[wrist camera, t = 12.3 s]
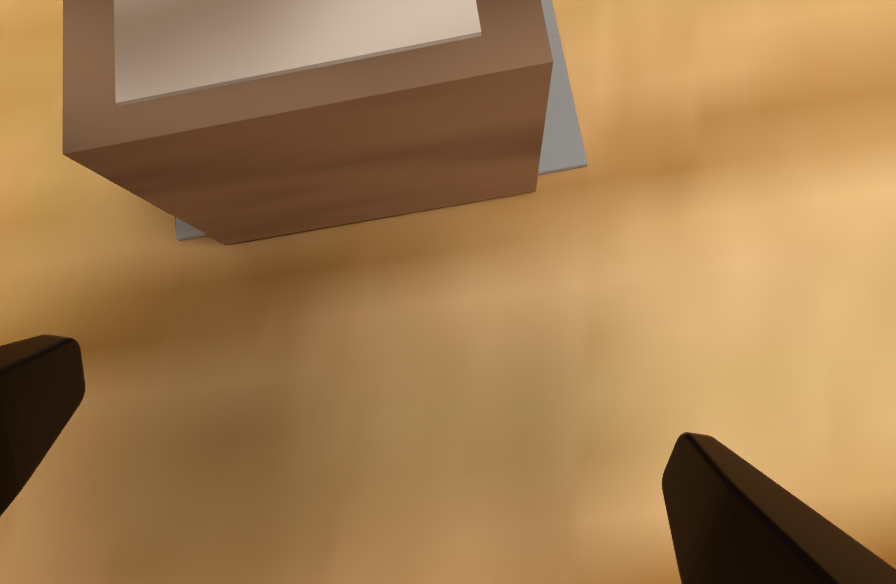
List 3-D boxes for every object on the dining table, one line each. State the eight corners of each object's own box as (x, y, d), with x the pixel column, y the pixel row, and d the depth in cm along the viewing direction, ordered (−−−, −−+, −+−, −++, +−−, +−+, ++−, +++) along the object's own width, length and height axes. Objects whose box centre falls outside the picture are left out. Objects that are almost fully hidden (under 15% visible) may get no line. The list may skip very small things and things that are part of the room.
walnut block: (497, -219, 14) (500, 4, 22) (59, -119, 15) (214, 61, 23) (553, 57, 13) (535, 191, 20) (58, 151, 13) (224, 244, 21)
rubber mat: (586, 166, 21) (587, 164, 20) (179, 240, 22) (176, 239, 22) (542, -38, 23) (542, -42, 22) (168, 40, 24) (166, 37, 23)
